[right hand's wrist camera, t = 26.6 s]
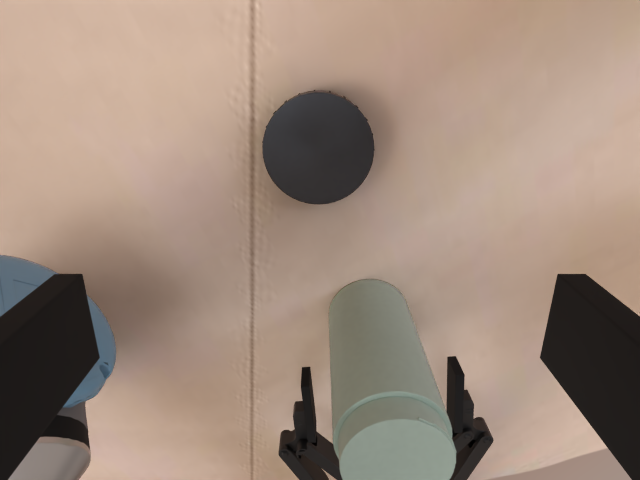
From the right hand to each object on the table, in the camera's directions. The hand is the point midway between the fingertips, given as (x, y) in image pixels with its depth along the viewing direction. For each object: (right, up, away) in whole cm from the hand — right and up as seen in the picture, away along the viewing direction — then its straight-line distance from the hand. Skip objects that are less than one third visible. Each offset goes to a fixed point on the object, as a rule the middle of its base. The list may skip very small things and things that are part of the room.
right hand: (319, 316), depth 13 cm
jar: (+5, -5, +34) cm, 34 cm away
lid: (0, +10, +26) cm, 27 cm away
